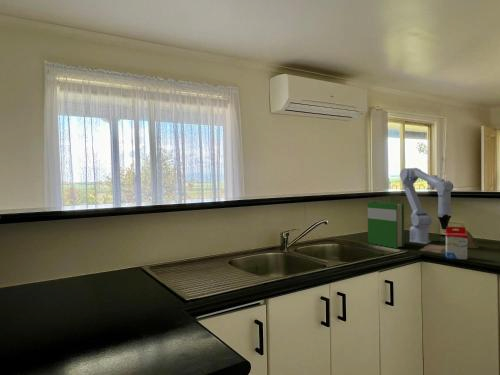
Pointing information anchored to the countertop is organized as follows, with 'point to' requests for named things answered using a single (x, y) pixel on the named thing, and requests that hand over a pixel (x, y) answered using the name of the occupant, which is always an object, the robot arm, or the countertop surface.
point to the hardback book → (386, 224)
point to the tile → (435, 248)
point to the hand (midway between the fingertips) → (444, 229)
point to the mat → (433, 251)
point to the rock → (471, 241)
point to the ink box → (456, 243)
